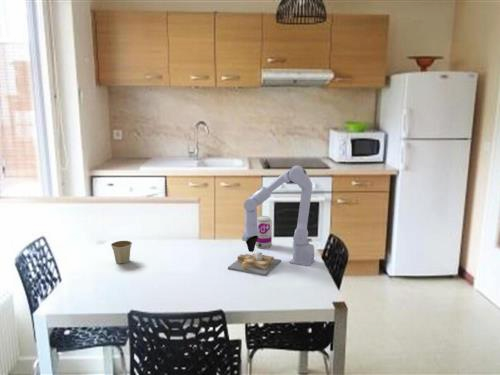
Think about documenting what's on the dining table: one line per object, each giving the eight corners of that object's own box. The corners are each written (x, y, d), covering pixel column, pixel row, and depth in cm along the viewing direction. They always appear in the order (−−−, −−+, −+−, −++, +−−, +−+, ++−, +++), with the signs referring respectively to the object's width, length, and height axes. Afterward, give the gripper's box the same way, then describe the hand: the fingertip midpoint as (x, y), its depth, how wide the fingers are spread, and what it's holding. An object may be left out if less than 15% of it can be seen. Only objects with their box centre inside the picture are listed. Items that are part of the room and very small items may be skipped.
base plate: (281, 261, 198) (281, 249, 197) (265, 276, 182) (265, 262, 181) (245, 255, 206) (245, 243, 205) (227, 269, 190) (227, 256, 189)
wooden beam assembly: (273, 261, 195) (273, 256, 195) (264, 269, 187) (264, 264, 186) (244, 256, 202) (244, 251, 201) (234, 264, 193) (233, 259, 193)
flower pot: (136, 258, 205) (135, 240, 203) (128, 265, 196) (127, 247, 194) (117, 257, 206) (115, 240, 204) (108, 265, 196) (107, 246, 195)
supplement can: (271, 249, 215) (271, 220, 212) (255, 249, 215) (255, 220, 212) (271, 243, 223) (271, 215, 220) (255, 243, 223) (255, 215, 220)
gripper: (250, 218, 207) (250, 245, 210) (236, 226, 194) (236, 254, 197) (263, 220, 204) (263, 247, 207) (250, 228, 191) (250, 257, 194)
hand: (251, 251), depth 202 cm, fingers closed
